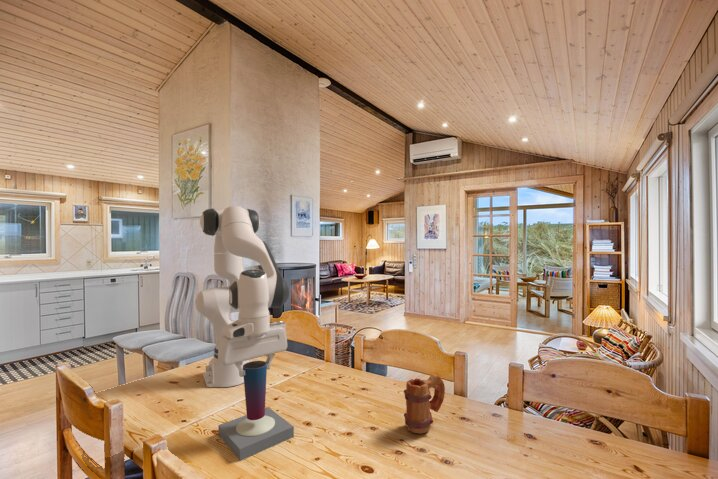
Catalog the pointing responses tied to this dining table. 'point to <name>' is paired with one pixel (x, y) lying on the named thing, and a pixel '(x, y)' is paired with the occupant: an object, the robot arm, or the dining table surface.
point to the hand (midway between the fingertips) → (254, 372)
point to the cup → (255, 389)
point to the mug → (422, 402)
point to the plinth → (255, 433)
